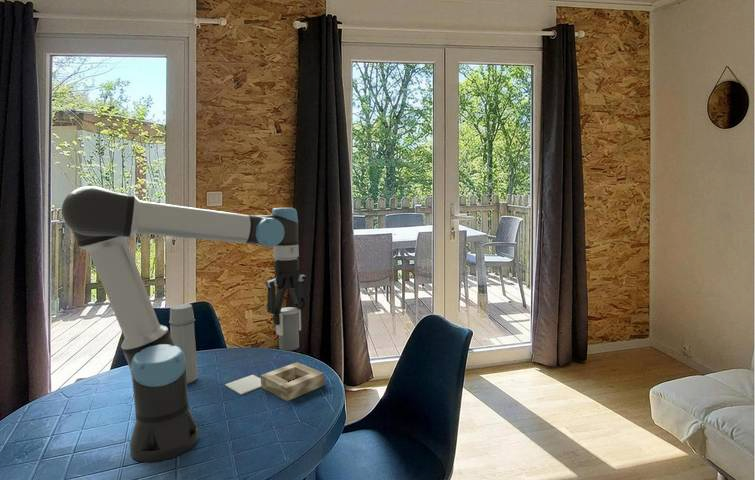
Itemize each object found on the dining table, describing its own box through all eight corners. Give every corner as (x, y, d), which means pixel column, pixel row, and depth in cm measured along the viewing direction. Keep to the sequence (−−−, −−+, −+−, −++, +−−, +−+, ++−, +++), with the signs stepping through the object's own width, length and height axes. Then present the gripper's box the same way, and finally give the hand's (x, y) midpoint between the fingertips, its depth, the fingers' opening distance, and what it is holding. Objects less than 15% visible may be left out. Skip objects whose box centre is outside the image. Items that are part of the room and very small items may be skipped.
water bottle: (193, 385, 142) (187, 309, 139) (169, 385, 142) (163, 309, 140) (204, 373, 151) (200, 302, 148) (182, 373, 151) (176, 302, 149)
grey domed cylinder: (286, 352, 134) (285, 313, 133) (275, 347, 138) (274, 309, 137) (302, 347, 138) (301, 309, 137) (291, 342, 142) (290, 306, 141)
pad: (240, 395, 135) (240, 393, 135) (225, 385, 141) (224, 384, 141) (269, 384, 142) (269, 383, 142) (252, 375, 149) (252, 374, 149)
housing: (287, 401, 130) (286, 388, 130) (261, 387, 140) (260, 375, 139) (324, 385, 140) (323, 373, 140) (297, 373, 150) (297, 362, 149)
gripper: (266, 263, 126) (269, 342, 128) (318, 256, 140) (320, 327, 142) (252, 260, 131) (255, 336, 134) (304, 254, 145) (306, 323, 147)
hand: (288, 331), depth 138 cm, fingers closed on grey domed cylinder, 6 cm apart
